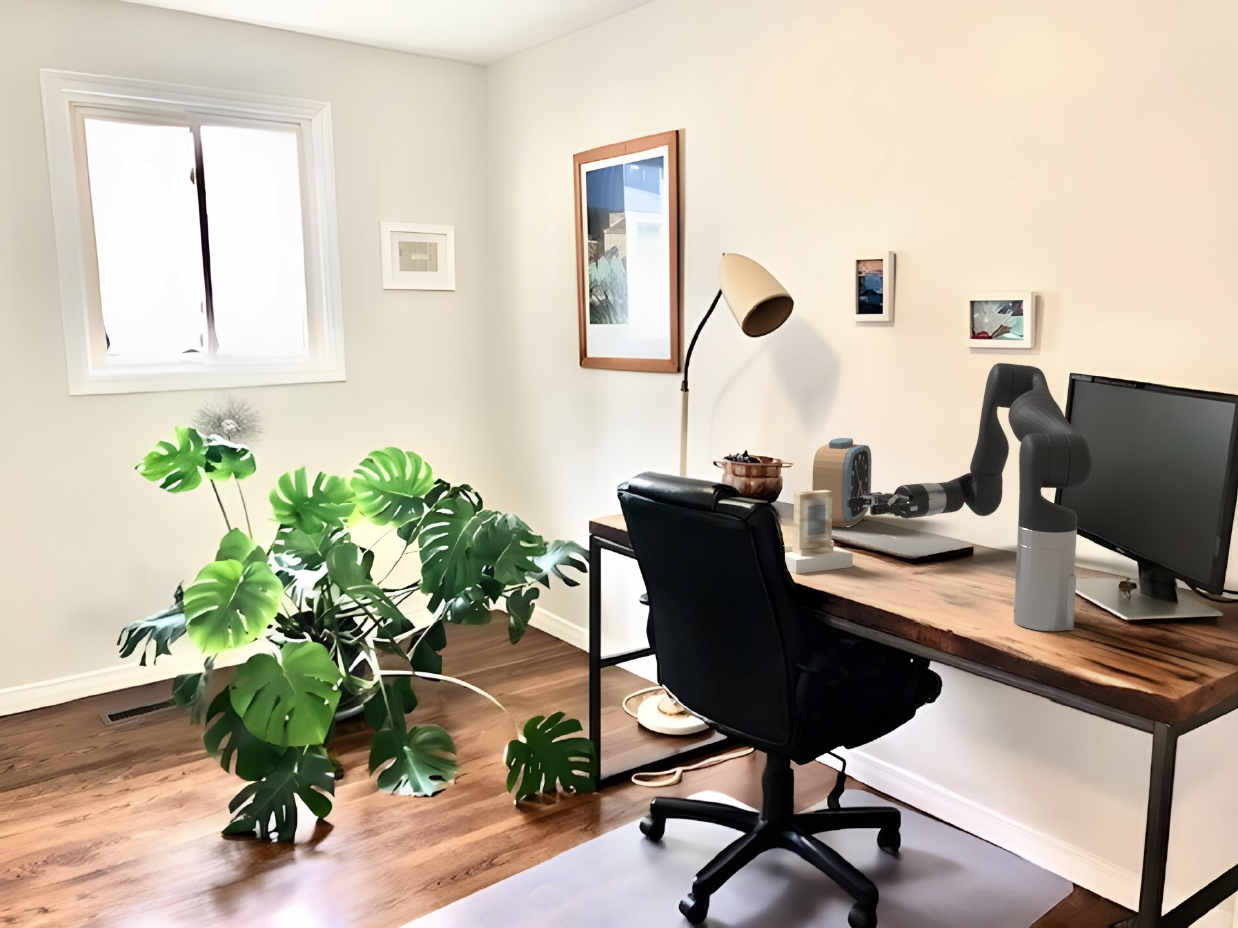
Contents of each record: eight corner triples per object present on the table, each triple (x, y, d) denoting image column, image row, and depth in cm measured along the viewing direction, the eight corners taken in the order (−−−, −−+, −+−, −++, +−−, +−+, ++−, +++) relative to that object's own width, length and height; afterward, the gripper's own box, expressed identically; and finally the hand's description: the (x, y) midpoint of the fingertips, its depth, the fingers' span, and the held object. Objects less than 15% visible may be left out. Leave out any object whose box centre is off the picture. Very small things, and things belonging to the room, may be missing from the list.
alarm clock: (848, 531, 240) (850, 446, 237) (811, 528, 245) (813, 444, 241) (870, 516, 258) (872, 436, 254) (836, 513, 262) (837, 435, 259)
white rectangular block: (831, 558, 214) (831, 540, 213) (852, 566, 206) (852, 547, 206) (776, 565, 209) (776, 546, 208) (796, 573, 201) (796, 554, 201)
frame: (823, 548, 211) (824, 489, 209) (833, 552, 207) (834, 492, 205) (791, 551, 208) (792, 492, 206) (801, 555, 204) (802, 495, 202)
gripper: (900, 479, 221) (840, 484, 216) (941, 488, 208) (879, 495, 203) (899, 510, 223) (840, 517, 217) (940, 522, 210) (878, 529, 204)
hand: (859, 506), depth 210 cm, fingers open, 8 cm apart
